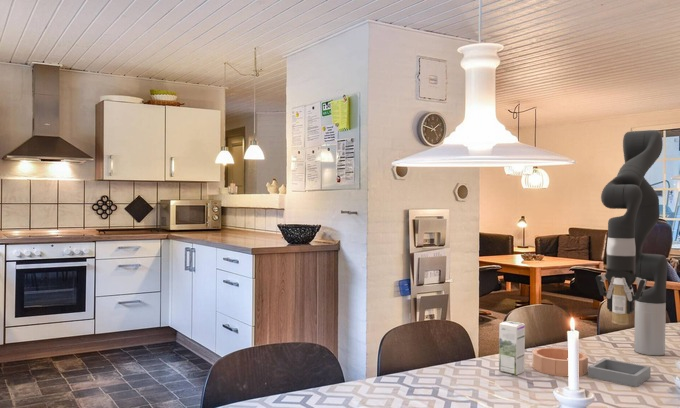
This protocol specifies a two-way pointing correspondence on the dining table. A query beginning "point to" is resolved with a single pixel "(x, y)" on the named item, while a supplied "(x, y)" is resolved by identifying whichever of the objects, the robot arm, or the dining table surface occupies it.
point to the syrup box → (512, 347)
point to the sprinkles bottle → (619, 303)
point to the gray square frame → (619, 372)
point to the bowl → (556, 361)
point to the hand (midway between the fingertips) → (620, 312)
